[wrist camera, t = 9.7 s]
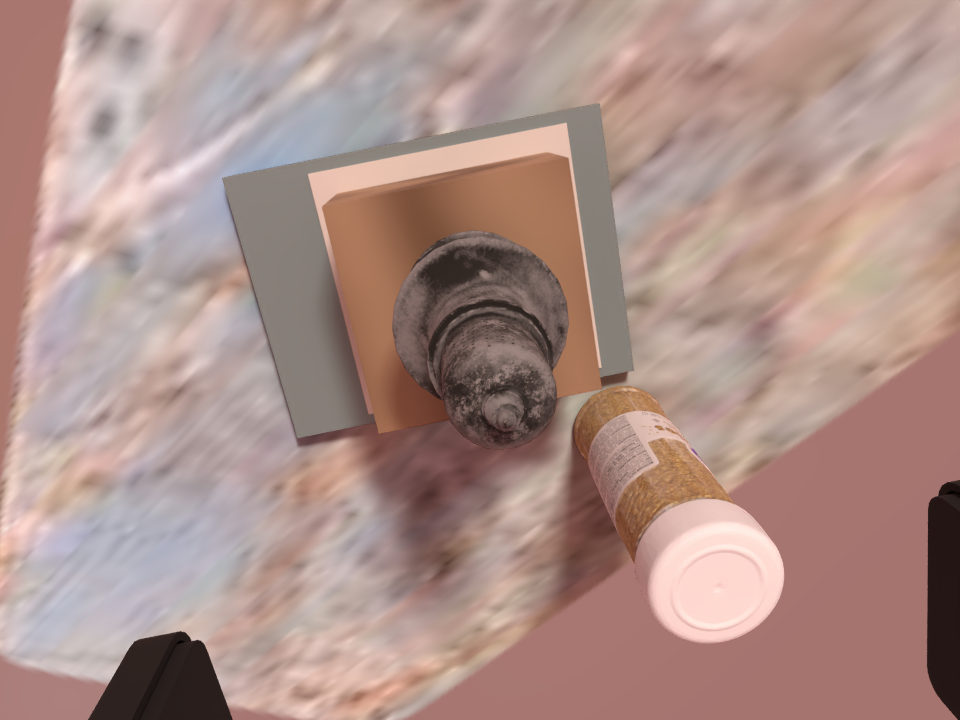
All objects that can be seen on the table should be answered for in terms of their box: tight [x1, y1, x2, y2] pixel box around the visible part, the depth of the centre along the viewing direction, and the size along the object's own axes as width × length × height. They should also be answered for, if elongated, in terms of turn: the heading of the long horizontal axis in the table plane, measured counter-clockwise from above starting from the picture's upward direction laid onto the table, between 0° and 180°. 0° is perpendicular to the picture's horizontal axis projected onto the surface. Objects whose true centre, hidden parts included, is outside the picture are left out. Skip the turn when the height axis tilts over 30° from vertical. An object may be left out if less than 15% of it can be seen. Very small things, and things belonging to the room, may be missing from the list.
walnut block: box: [322, 152, 602, 434], centre depth 31 cm, size 9×9×5 cm
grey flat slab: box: [222, 104, 634, 438], centre depth 33 cm, size 16×12×1 cm
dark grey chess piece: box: [392, 230, 569, 450], centre depth 22 cm, size 6×6×12 cm
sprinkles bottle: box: [574, 386, 784, 643], centre depth 30 cm, size 5×5×13 cm
